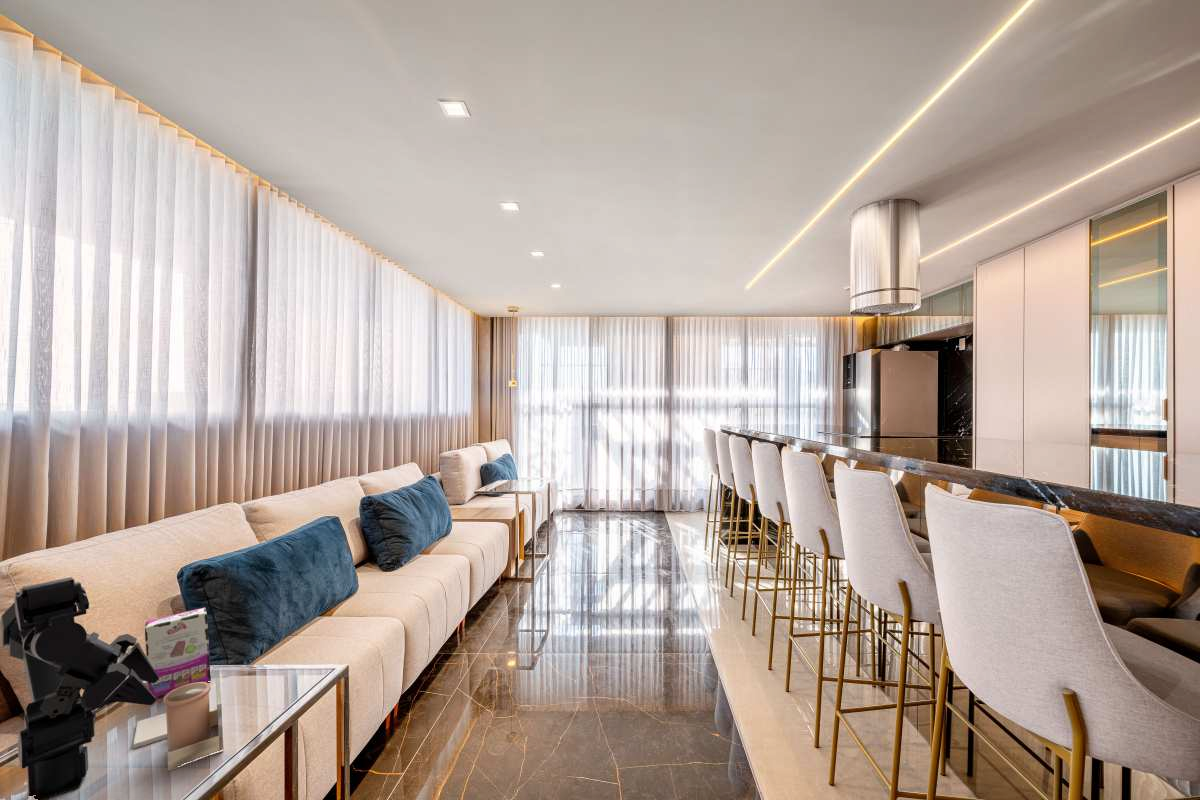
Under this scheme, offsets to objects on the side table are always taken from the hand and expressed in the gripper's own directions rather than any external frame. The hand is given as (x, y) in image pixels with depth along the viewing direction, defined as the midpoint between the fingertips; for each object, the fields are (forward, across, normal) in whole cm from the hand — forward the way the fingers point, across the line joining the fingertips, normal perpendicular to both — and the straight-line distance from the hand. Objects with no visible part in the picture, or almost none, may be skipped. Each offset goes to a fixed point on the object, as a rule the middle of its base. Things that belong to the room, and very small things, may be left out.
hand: (155, 691), depth 97 cm
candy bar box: (+11, -28, -7) cm, 31 cm away
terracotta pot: (+12, 0, -5) cm, 13 cm away
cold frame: (+12, 0, -5) cm, 13 cm away
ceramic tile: (+9, -11, -8) cm, 17 cm away
